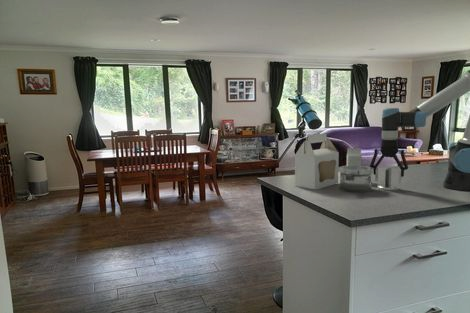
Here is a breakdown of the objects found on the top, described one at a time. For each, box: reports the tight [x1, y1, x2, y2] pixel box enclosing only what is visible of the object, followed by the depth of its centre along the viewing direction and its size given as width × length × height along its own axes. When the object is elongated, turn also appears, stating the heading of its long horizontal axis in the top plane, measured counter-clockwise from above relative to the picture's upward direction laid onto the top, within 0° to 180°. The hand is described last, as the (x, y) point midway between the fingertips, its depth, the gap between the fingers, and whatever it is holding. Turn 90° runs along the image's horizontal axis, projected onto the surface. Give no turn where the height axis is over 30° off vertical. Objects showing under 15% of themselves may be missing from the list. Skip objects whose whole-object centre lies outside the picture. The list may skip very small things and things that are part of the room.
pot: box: [338, 165, 374, 193], centre depth 173 cm, size 16×22×11 cm
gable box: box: [294, 132, 340, 191], centre depth 187 cm, size 22×13×28 cm, turn 131°
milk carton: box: [346, 147, 363, 166], centre depth 194 cm, size 7×7×19 cm
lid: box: [377, 167, 400, 192], centre depth 175 cm, size 10×10×10 cm
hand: (388, 181), depth 176 cm, fingers open, 10 cm apart
